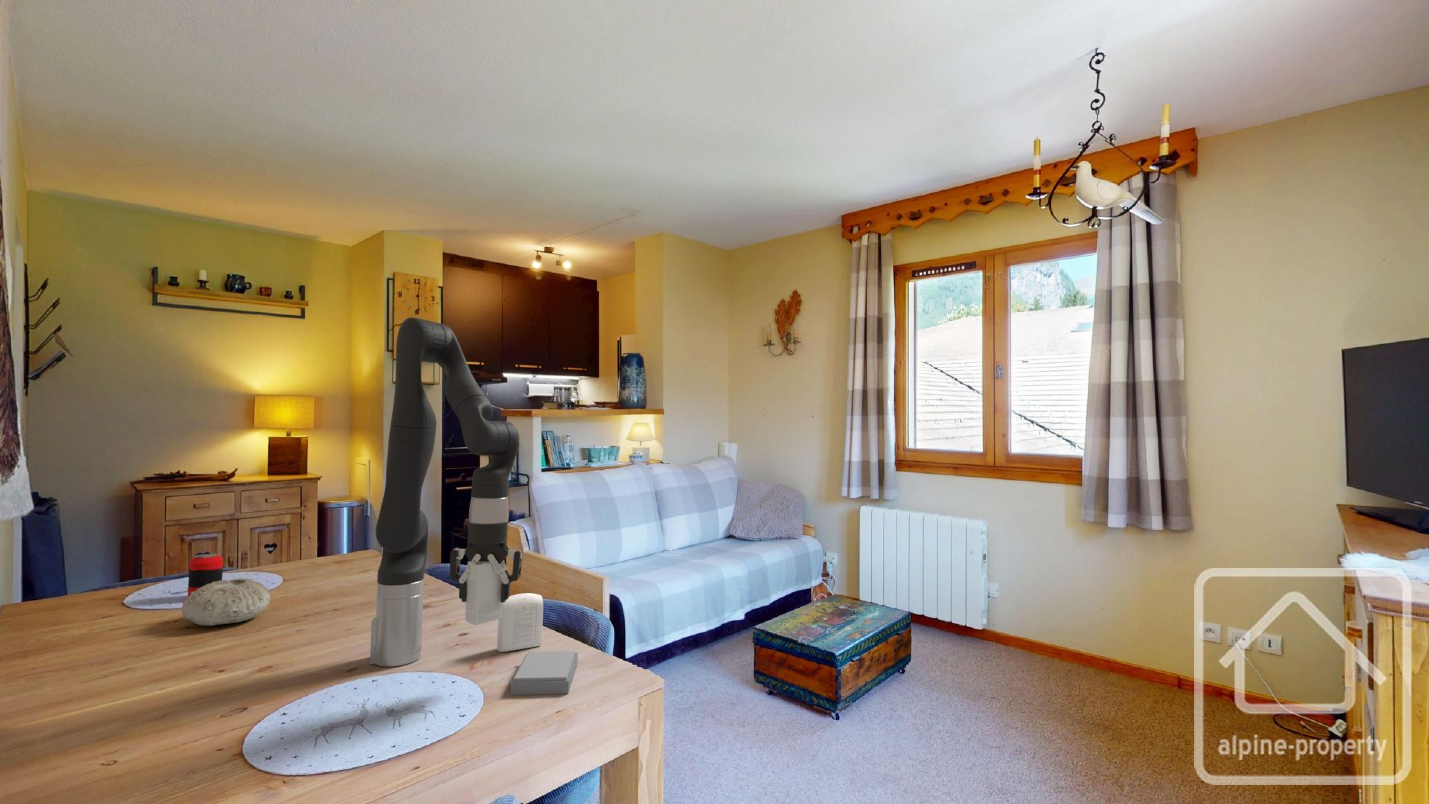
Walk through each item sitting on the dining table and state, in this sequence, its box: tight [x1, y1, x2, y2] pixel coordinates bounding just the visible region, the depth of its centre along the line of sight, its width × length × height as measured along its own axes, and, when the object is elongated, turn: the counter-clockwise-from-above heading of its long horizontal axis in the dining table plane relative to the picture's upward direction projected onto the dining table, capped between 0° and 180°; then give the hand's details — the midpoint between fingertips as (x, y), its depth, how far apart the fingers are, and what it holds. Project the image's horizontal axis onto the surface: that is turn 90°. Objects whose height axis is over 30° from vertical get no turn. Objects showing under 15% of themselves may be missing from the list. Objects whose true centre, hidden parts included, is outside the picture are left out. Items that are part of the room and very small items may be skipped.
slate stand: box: [510, 650, 579, 696], centre depth 126 cm, size 11×15×3 cm
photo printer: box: [496, 592, 544, 653], centre depth 144 cm, size 10×4×12 cm, turn 123°
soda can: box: [187, 553, 224, 598], centre depth 177 cm, size 8×8×12 cm
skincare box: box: [464, 559, 505, 626], centre depth 124 cm, size 6×4×12 cm
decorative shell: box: [181, 577, 271, 627], centre depth 157 cm, size 18×18×10 cm
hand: (484, 601), depth 123 cm, fingers closed on skincare box, 7 cm apart
